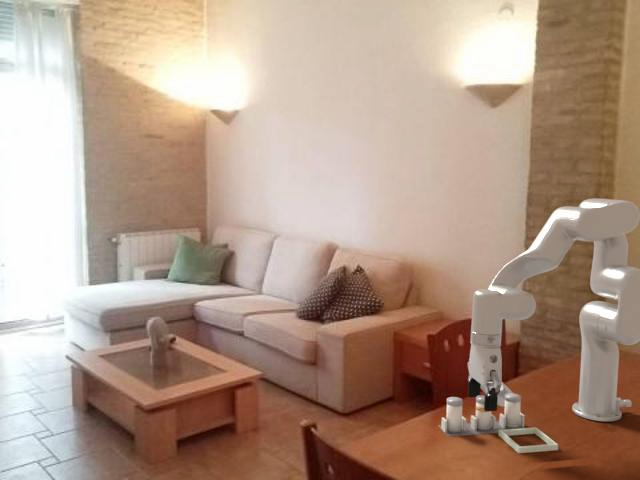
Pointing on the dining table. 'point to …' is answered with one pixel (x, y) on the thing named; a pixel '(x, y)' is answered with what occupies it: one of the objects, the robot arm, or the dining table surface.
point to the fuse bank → (460, 427)
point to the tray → (525, 449)
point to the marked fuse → (482, 414)
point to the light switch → (503, 391)
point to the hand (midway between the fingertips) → (481, 403)
